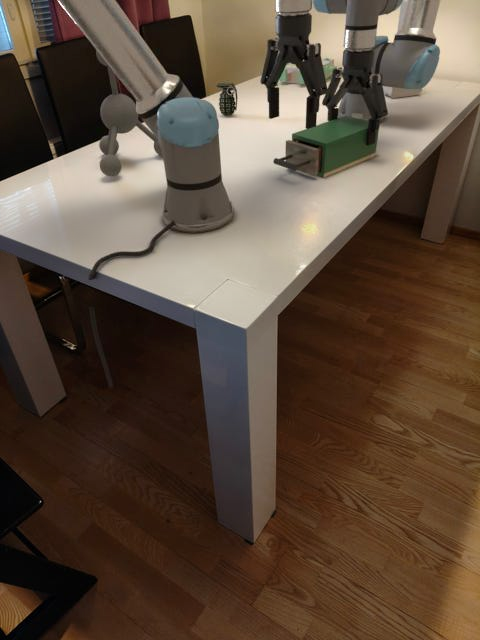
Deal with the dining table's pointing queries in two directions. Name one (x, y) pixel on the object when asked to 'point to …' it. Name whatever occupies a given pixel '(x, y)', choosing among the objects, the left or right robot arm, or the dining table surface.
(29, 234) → the dining table surface
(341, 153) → the cabinet
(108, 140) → the molecular model
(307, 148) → the drawer
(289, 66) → the decorative block
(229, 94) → the grenade
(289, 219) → the dining table surface
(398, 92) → the electronic device
